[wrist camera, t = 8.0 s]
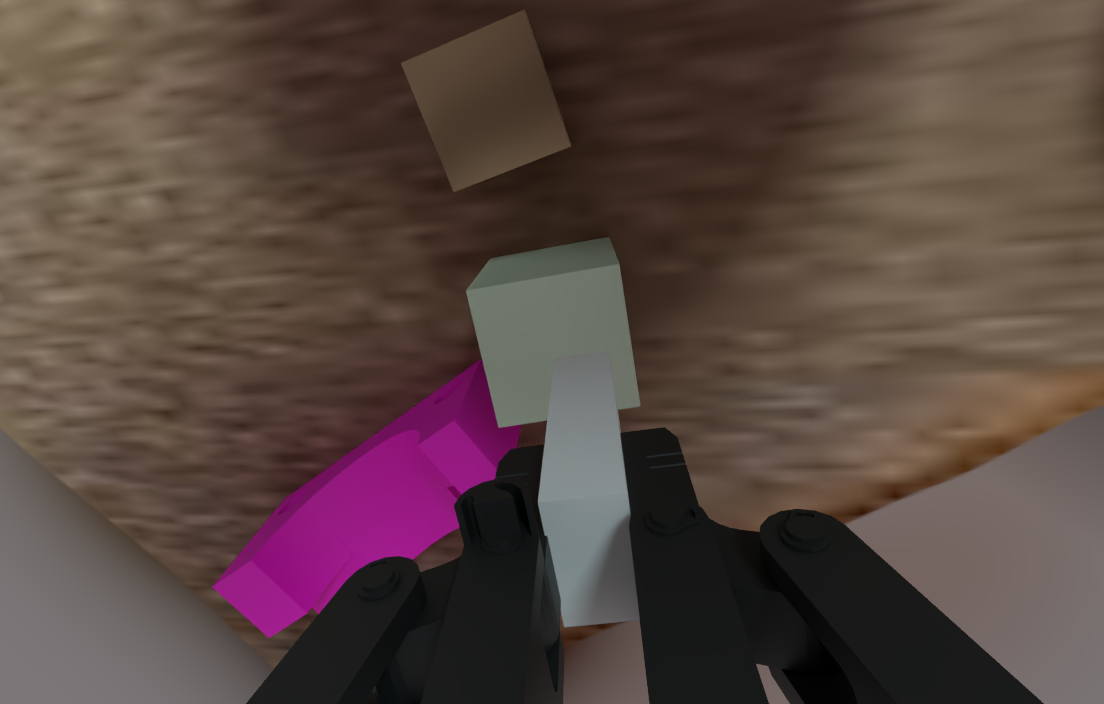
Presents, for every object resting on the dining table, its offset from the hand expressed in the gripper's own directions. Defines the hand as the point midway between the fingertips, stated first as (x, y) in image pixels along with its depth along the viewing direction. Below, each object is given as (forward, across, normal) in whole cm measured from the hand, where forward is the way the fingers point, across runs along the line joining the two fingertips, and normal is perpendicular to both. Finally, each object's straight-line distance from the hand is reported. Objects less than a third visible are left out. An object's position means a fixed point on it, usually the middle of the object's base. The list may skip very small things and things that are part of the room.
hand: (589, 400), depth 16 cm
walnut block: (+14, -3, +8) cm, 17 cm away
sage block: (+14, -2, -1) cm, 14 cm away
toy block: (+14, -11, -10) cm, 21 cm away
